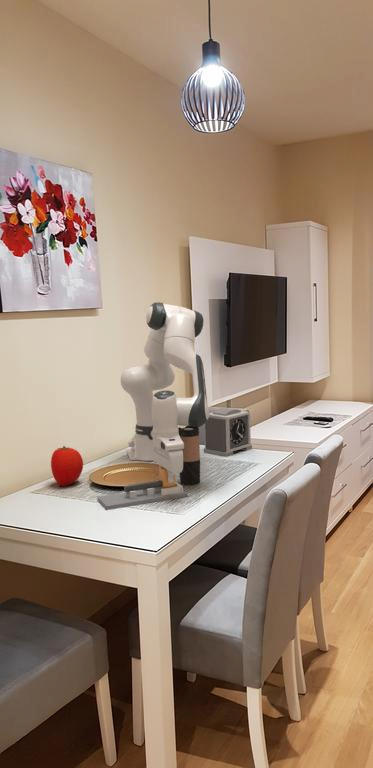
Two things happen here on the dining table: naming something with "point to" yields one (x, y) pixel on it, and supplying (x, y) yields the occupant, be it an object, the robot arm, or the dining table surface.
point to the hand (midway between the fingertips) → (167, 479)
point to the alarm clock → (227, 432)
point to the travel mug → (190, 455)
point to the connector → (153, 484)
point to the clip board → (142, 496)
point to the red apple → (66, 465)
